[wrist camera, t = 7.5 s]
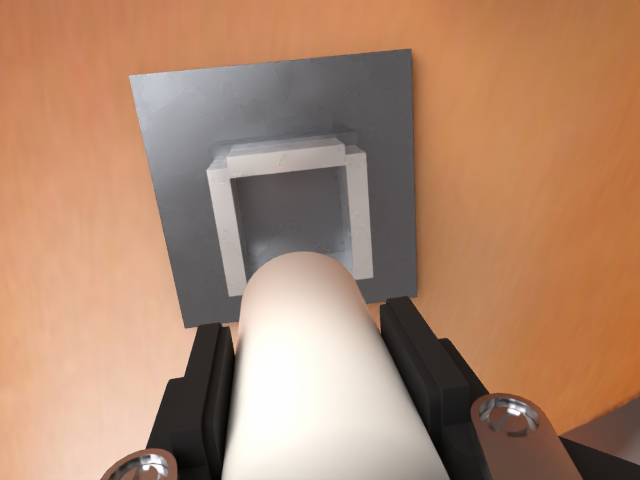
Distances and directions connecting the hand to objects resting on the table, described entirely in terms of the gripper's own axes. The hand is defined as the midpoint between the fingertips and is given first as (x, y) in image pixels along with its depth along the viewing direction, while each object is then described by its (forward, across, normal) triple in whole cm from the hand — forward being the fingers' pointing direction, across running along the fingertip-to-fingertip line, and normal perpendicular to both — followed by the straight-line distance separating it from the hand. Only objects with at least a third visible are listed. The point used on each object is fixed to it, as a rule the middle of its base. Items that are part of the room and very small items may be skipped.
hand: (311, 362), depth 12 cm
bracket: (+18, 0, 0) cm, 18 cm away
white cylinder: (+3, 0, 0) cm, 3 cm away
